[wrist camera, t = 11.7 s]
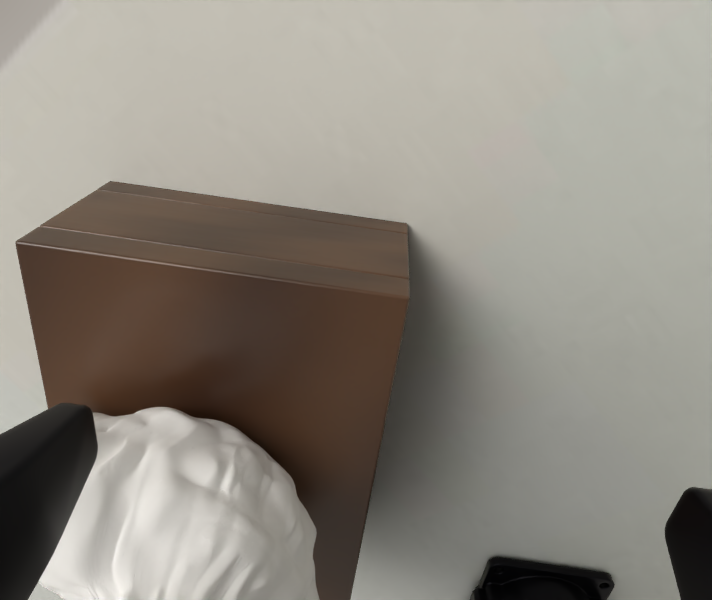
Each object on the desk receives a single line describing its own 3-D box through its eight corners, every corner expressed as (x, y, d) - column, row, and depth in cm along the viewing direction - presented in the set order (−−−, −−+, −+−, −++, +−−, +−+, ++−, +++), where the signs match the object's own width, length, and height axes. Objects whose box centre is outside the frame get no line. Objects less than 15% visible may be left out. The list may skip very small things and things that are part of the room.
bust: (341, 510, 22) (539, 715, 12) (210, 675, 20) (312, 1083, 10) (112, 310, 18) (119, 363, 8) (-79, 491, 16) (-382, 858, 6)
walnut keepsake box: (407, 223, 20) (410, 297, 15) (356, 503, 27) (347, 616, 22) (109, 180, 20) (12, 241, 15) (139, 472, 27) (80, 577, 22)
